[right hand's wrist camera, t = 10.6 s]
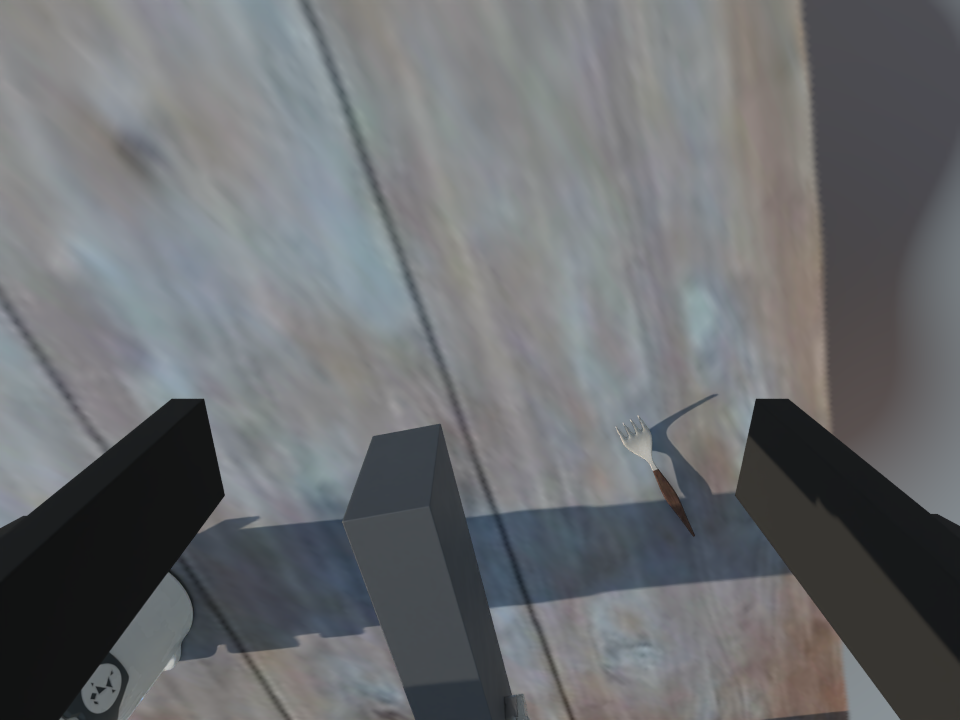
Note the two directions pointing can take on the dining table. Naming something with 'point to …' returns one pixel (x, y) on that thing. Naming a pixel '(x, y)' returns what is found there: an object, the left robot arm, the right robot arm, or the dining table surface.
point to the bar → (426, 578)
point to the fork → (653, 466)
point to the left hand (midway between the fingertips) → (476, 706)
